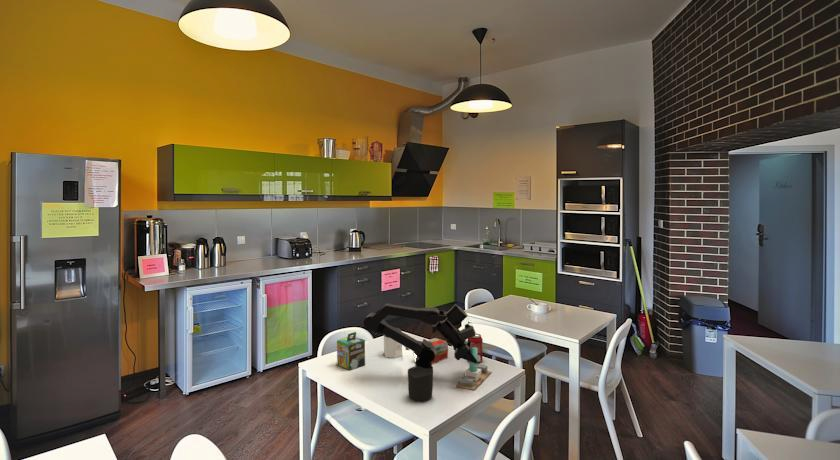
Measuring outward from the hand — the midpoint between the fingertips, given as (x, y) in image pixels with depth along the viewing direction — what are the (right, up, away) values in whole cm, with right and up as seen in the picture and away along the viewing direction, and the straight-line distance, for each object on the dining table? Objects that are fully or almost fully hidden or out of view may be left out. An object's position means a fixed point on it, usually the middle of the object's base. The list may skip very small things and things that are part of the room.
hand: (476, 361), depth 180 cm
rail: (-1, -8, +2) cm, 8 cm away
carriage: (-1, -8, +1) cm, 8 cm away
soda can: (+2, -7, +22) cm, 23 cm away
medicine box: (-18, -7, +24) cm, 31 cm away
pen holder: (-23, -9, -15) cm, 29 cm away
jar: (-36, -6, +30) cm, 47 cm away
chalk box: (-53, -7, +17) cm, 57 cm away
